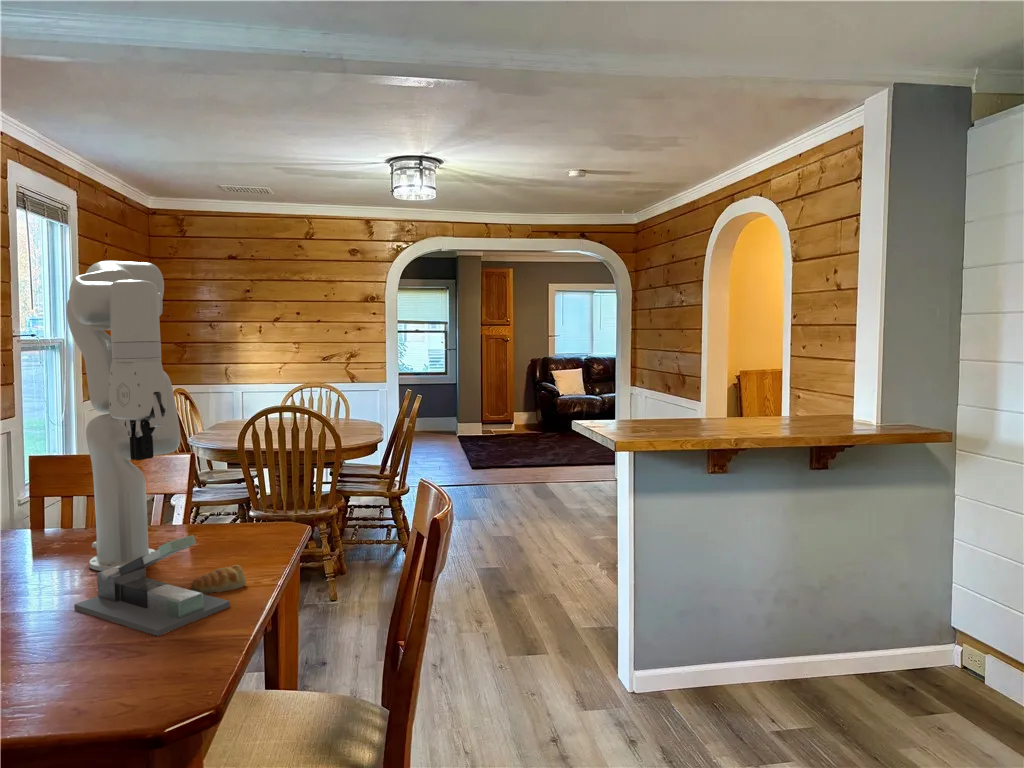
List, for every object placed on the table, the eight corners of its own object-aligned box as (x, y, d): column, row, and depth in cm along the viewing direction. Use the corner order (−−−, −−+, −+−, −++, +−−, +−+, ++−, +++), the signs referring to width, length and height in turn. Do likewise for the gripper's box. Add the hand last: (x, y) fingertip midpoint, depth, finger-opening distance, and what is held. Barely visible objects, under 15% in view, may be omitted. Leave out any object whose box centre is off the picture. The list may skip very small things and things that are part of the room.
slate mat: (74, 609, 127) (74, 604, 127) (148, 584, 139) (148, 579, 139) (157, 636, 116) (157, 630, 116) (230, 606, 128) (229, 601, 128)
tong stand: (97, 597, 130) (95, 568, 130) (131, 586, 136) (129, 558, 135) (174, 620, 119) (173, 588, 119) (207, 607, 125) (206, 577, 125)
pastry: (197, 600, 132) (196, 579, 132) (186, 590, 137) (185, 570, 137) (248, 587, 138) (248, 568, 138) (236, 578, 143) (235, 559, 143)
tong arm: (119, 576, 127) (117, 567, 128) (145, 568, 132) (142, 560, 132) (171, 551, 120) (168, 541, 120) (196, 543, 124) (193, 534, 124)
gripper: (90, 353, 125) (95, 459, 126) (142, 353, 117) (148, 465, 118) (131, 352, 131) (136, 453, 132) (184, 352, 124) (189, 458, 125)
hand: (142, 458), depth 125 cm, fingers closed
